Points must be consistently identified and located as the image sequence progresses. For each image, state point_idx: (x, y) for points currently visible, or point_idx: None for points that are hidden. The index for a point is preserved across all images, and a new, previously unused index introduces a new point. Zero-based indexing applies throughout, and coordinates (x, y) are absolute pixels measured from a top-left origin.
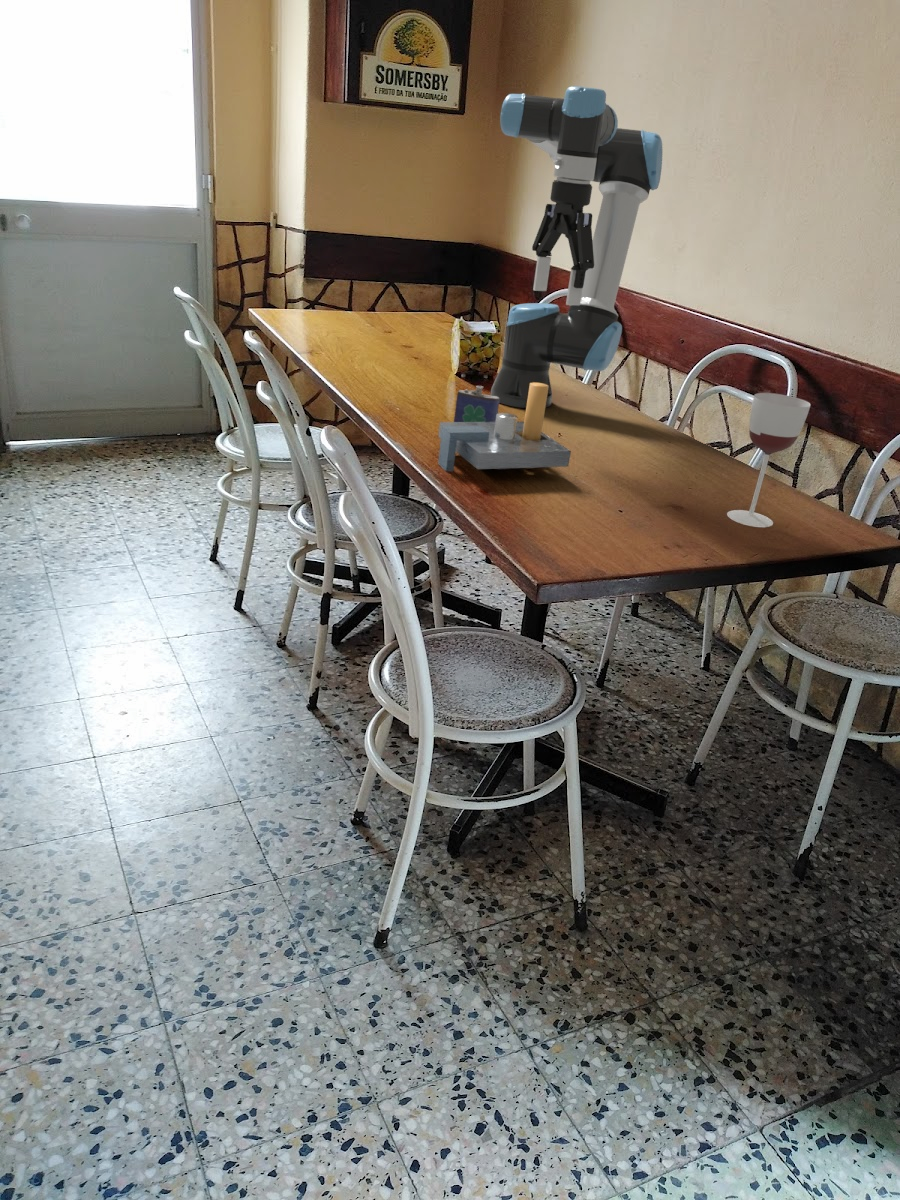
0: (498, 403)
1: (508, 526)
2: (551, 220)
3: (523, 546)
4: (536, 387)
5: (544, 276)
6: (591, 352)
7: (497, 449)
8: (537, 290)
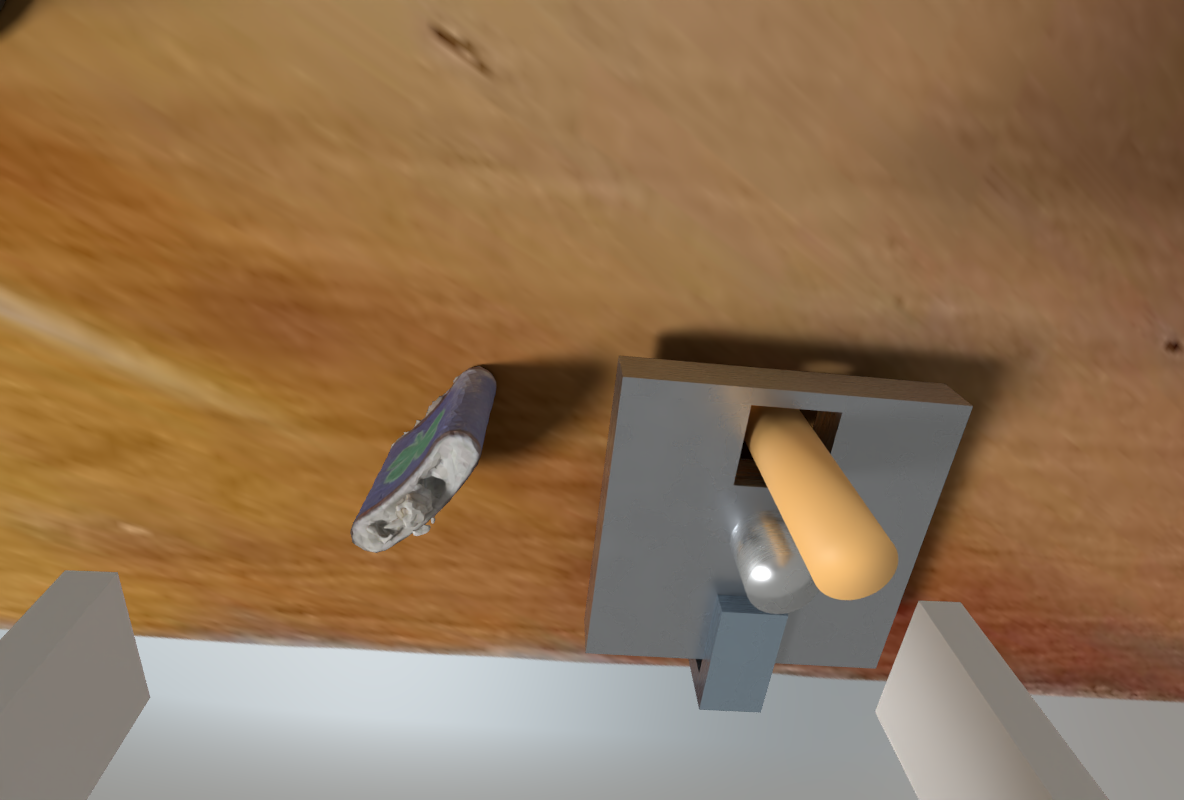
0: (477, 432)
1: (1076, 646)
2: None
3: (1165, 663)
4: (876, 590)
5: (6, 787)
6: None
7: (866, 613)
8: (139, 673)
